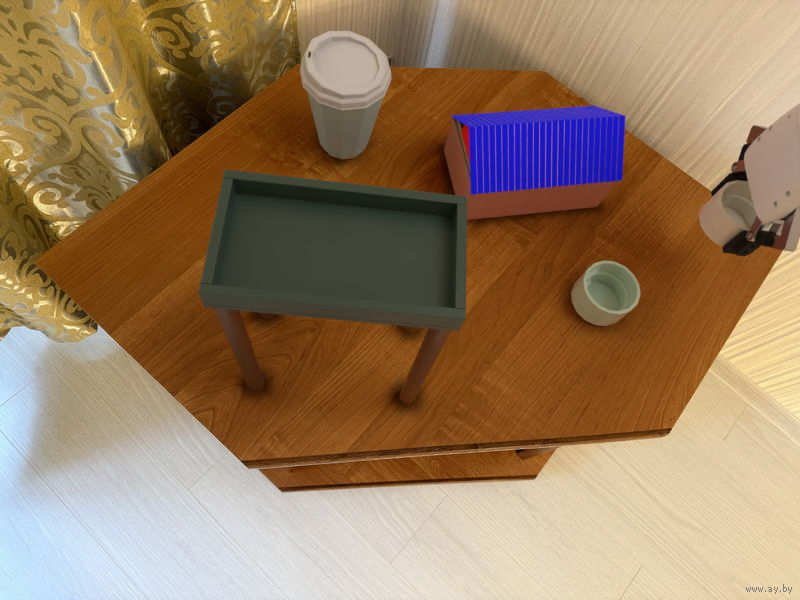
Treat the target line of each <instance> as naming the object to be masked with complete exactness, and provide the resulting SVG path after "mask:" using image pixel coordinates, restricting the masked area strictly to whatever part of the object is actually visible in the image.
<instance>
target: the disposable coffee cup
mask: <svg viewBox="0 0 800 600" xmlns="http://www.w3.org/2000/svg"><path fill="white" fill-rule="evenodd" d="M299 74H300V79H301V83H302V88H303V89H304V90H305V91H306V92H307V96H308V100H309V105H310V109H311V112H312V115H313V116H312V117H313V120H314V125H315V129H316V133H317V136H318V137H317V138H318V140H319V144H320V147H322V148H323V150H324V151H325V152H326V153H328V155H329V156H331V157H333V158H336V159H338V160H348V159H349V160H350V159H354V158H356V157H358V156H359V155H361V154H362V153H363V152H364V151H366V148H367V146H368V144H369V141H370V138H371V135H372V132H373V130H374V127H375V123H376V121H377V119H378V114H379V112H380V109H381V106H382V103H383V100H384V97H385V96H386V93H387V91H388V89H389V86H390V84H391V82H392V71H391V67H390V64H389V59H388V56H387V54H386V53H385V52H384V51H383V50H382V49H380V47H378V45H376V44H375V43H374V41H372V40H371V39H370V38H368V37H365V36H363V35H361V34H359V33H356V32H354V31H351V30H327V31H326V32H324V33H322V34H320V35H317V36H315V37H314V38H312V39H311V40H310V42H309V44H308V46H307V48H306V49H305V52H304V54H303V56H302V58H301V63H300V69H299Z"/></svg>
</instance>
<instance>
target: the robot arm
mask: <svg viewBox="0 0 800 600" xmlns="http://www.w3.org/2000/svg"><path fill="white" fill-rule="evenodd" d="M745 142H746V143H744V144H743V145H742V147H741V149H740V152H739V156H738V158H737V159H738V160H737V161H734V162H733V163H732V165H731V166H730V167H731V168H730V171H731V172H729V173H728V174H727V175H726V176H725V177H724V178H723V179H722V180H721V181H720V182H719V183H718V184H717V185H716V186H715V187H714V188H713V189H712V190H711V191H710V195H711V198H712V197H713V196H714V195H715V194H716V193H717V192H718V191H719V190H720V189H721V188H722V187H723V186H724V185H725V184H726V183H728V182H731V181H735V180H741V181H748V183H749V187H750V192H751V196H752V200H753V204H754V208H755V211H756V214H757V216H756V218H755V220H754V221H753V223H752V225H751V227H750V229H749V230H748V231H741V232H740V233H739V234H737V235H736V236H735V237H734V238H733V239H731V240H730V241H729V242H728V243H726V244H725V245H724V246H723V247H722V248H721V249H722V253H723V254H731V255H735V256H737V257H747V256H749V255H751V254H752V253H754V252H755V251H756V250H758V249H759V248H761V247H762V246H763V247H766V248H772V249H774V250H778V251H783V252H795V251H796V250H797V249H798V244H799V241H800V102H799V103H797V104H796V105H794V106H793V107H792V108H790V109H789V110H787V111H786V112H785V113H783V114H782V115H781V116H780V117H778V119H776V120H774V121H773V123H771V124H770V125H769V126H764V125H757V124H753V125H752V126H751V128H750V130H749V133H748V135H747V138H746V140H745ZM768 223H773V224H772V226H771V227H770V229H769V231H764V230H762V229H763V227H764V226H765V224H768Z"/></svg>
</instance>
